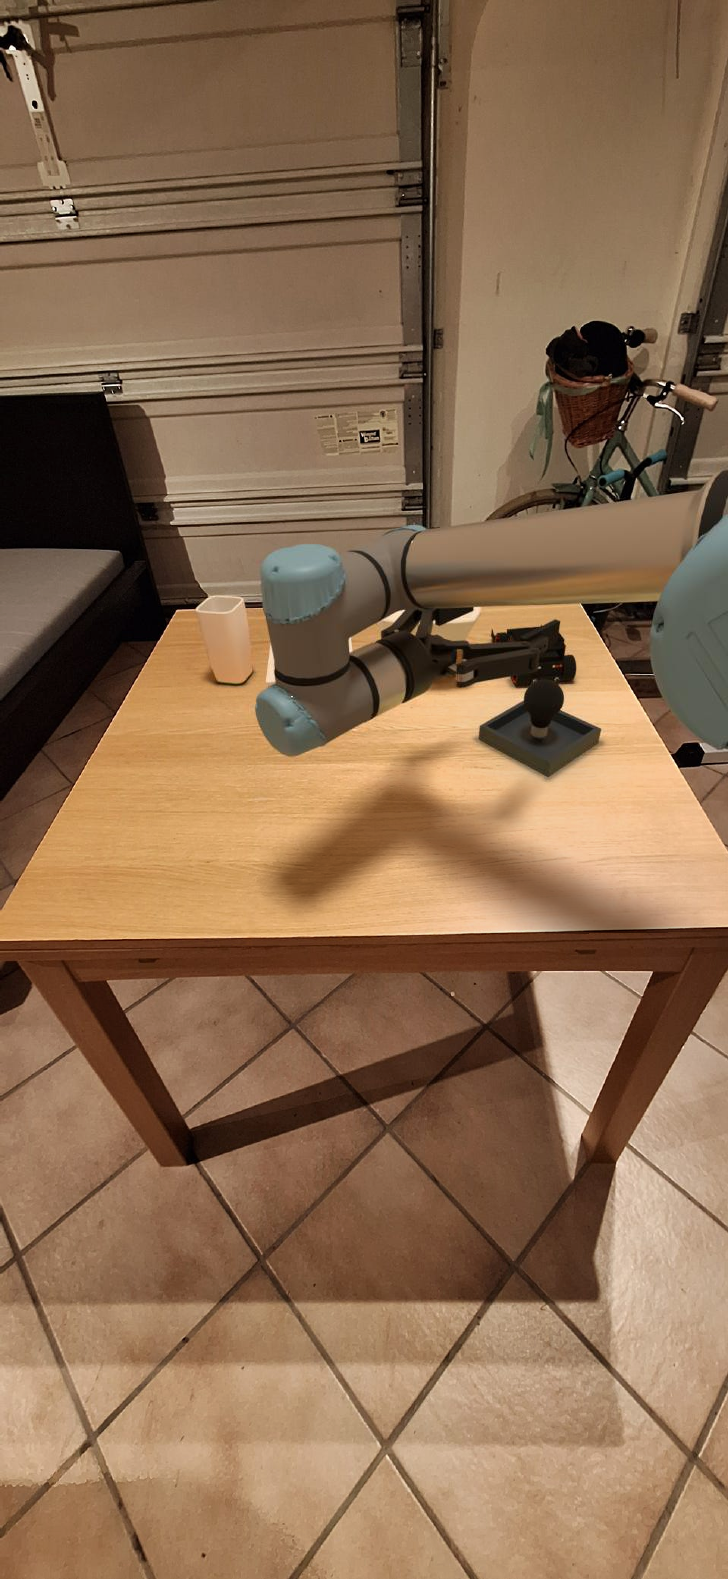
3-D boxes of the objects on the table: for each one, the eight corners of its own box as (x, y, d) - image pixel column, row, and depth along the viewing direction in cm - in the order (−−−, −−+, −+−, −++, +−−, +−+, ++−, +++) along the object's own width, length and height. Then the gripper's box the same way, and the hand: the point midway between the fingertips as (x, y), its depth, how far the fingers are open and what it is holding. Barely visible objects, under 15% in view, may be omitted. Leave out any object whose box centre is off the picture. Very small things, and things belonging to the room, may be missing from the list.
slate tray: (598, 742, 99) (601, 728, 97) (548, 777, 93) (550, 762, 91) (528, 709, 107) (530, 696, 106) (478, 739, 101) (479, 725, 100)
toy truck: (541, 635, 128) (545, 600, 124) (574, 684, 113) (581, 646, 108) (490, 639, 128) (492, 605, 123) (516, 689, 112) (520, 652, 108)
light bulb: (564, 743, 98) (575, 686, 92) (531, 752, 97) (539, 695, 90) (544, 723, 102) (552, 669, 96) (512, 732, 101) (518, 677, 95)
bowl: (371, 694, 114) (367, 621, 105) (385, 645, 129) (382, 577, 120) (476, 697, 111) (480, 623, 102) (478, 647, 126) (482, 578, 117)
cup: (226, 667, 125) (210, 594, 116) (259, 670, 123) (246, 596, 114) (209, 685, 120) (191, 611, 110) (244, 689, 118) (229, 613, 108)
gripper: (322, 666, 80) (440, 615, 90) (468, 747, 65) (591, 674, 75) (316, 610, 75) (441, 562, 85) (472, 683, 60) (603, 614, 70)
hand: (512, 614), depth 80 cm, fingers open, 13 cm apart
